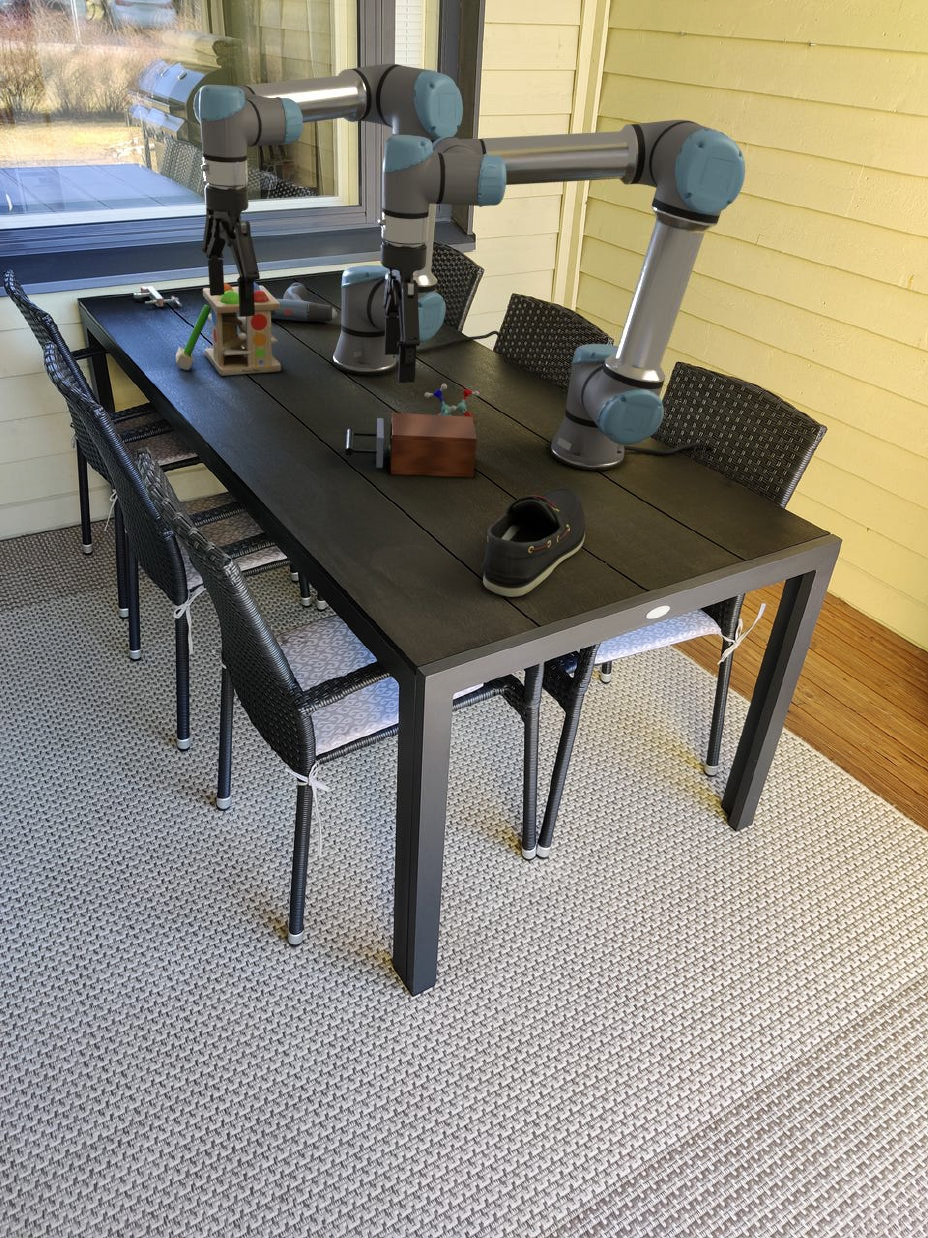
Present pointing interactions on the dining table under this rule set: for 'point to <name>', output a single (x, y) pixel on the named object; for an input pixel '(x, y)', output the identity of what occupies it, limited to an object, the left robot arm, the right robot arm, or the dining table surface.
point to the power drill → (301, 307)
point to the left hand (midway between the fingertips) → (231, 305)
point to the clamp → (155, 297)
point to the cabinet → (433, 445)
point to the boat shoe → (532, 541)
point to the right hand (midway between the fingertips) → (399, 367)
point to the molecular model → (448, 410)
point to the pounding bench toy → (235, 334)
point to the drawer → (380, 435)
